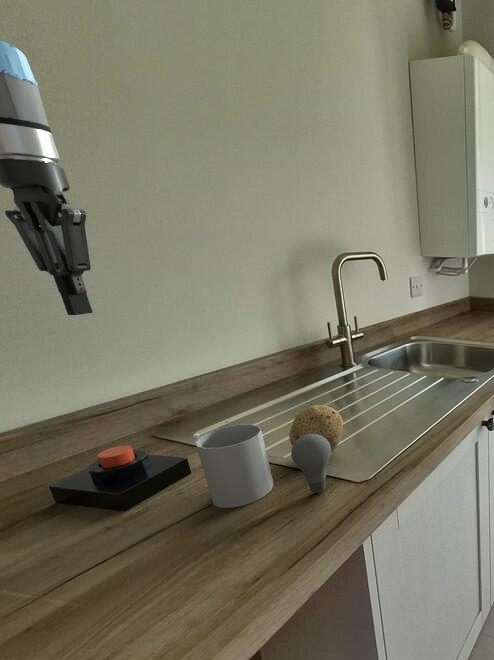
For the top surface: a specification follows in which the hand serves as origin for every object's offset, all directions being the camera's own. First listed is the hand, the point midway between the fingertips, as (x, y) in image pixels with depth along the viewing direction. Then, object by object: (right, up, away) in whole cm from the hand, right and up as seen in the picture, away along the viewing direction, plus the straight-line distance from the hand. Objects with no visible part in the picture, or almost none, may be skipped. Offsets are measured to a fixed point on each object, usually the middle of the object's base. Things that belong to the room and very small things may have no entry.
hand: (80, 313), depth 71 cm
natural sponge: (+39, -26, +6) cm, 47 cm away
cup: (+32, -30, -5) cm, 44 cm away
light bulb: (+44, -30, -6) cm, 54 cm away
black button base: (+12, -29, -4) cm, 32 cm away
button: (+12, -25, -5) cm, 28 cm away
